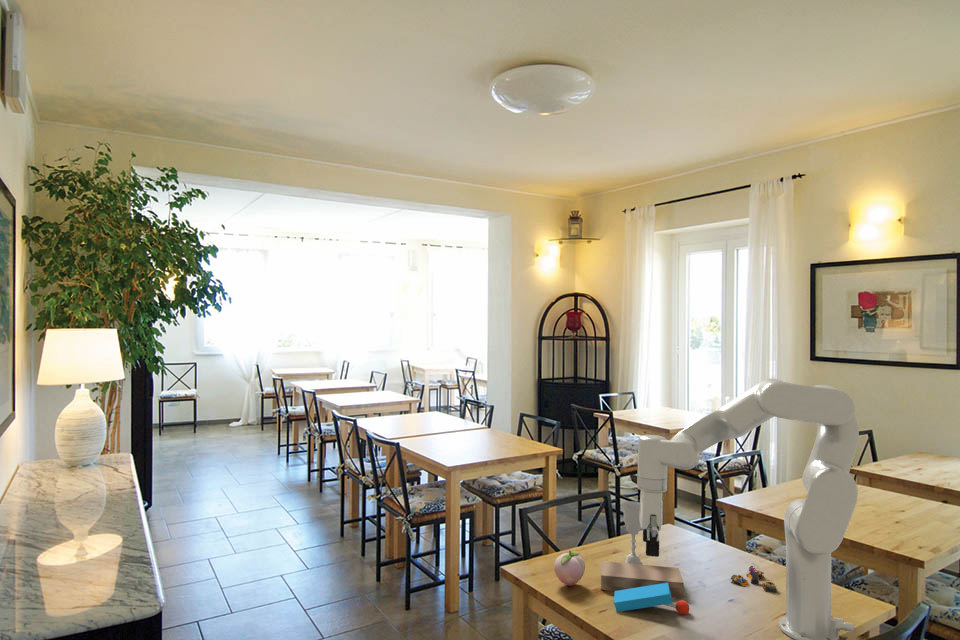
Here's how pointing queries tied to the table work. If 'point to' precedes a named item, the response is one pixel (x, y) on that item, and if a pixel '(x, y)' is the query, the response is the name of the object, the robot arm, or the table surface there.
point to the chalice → (632, 528)
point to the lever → (648, 598)
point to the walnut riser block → (640, 577)
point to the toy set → (754, 580)
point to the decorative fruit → (569, 568)
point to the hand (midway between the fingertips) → (650, 548)
